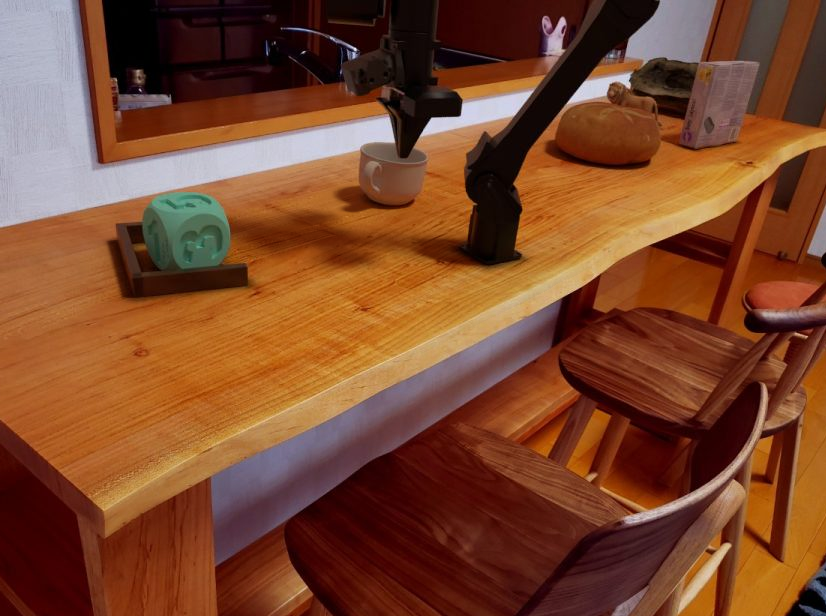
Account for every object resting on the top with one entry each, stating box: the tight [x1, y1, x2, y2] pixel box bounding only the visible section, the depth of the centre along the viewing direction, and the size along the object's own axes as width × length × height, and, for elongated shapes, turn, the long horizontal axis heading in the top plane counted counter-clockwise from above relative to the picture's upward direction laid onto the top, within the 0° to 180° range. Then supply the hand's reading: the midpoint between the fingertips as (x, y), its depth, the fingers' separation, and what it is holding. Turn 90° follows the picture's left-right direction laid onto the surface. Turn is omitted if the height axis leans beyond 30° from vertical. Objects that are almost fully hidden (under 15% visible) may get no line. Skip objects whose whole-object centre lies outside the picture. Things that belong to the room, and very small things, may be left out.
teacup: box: [358, 141, 429, 206], centre depth 118 cm, size 14×11×8 cm
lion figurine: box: [606, 81, 663, 127], centre depth 181 cm, size 15×5×9 cm, turn 62°
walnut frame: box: [114, 221, 249, 298], centre depth 94 cm, size 13×17×2 cm
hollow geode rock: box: [628, 56, 699, 115], centre depth 196 cm, size 28×13×15 cm
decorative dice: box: [141, 191, 231, 271], centre depth 93 cm, size 8×8×8 cm
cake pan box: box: [678, 60, 761, 150], centre depth 167 cm, size 19×5×18 cm, turn 128°
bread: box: [554, 101, 662, 166], centre depth 153 cm, size 23×23×10 cm
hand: (402, 157), depth 98 cm, fingers closed
